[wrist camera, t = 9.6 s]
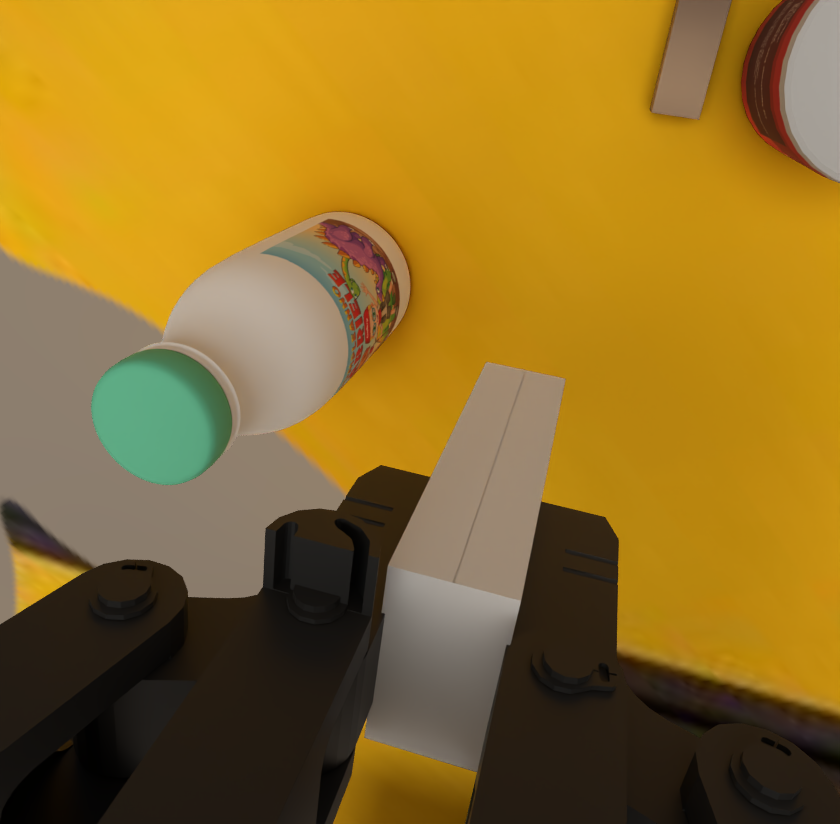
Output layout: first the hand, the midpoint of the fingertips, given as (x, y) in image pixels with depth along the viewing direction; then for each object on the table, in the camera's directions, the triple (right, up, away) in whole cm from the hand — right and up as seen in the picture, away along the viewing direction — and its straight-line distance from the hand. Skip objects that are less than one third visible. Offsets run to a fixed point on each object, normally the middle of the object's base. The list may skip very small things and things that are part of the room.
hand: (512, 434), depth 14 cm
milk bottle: (-6, +8, +28) cm, 30 cm away
